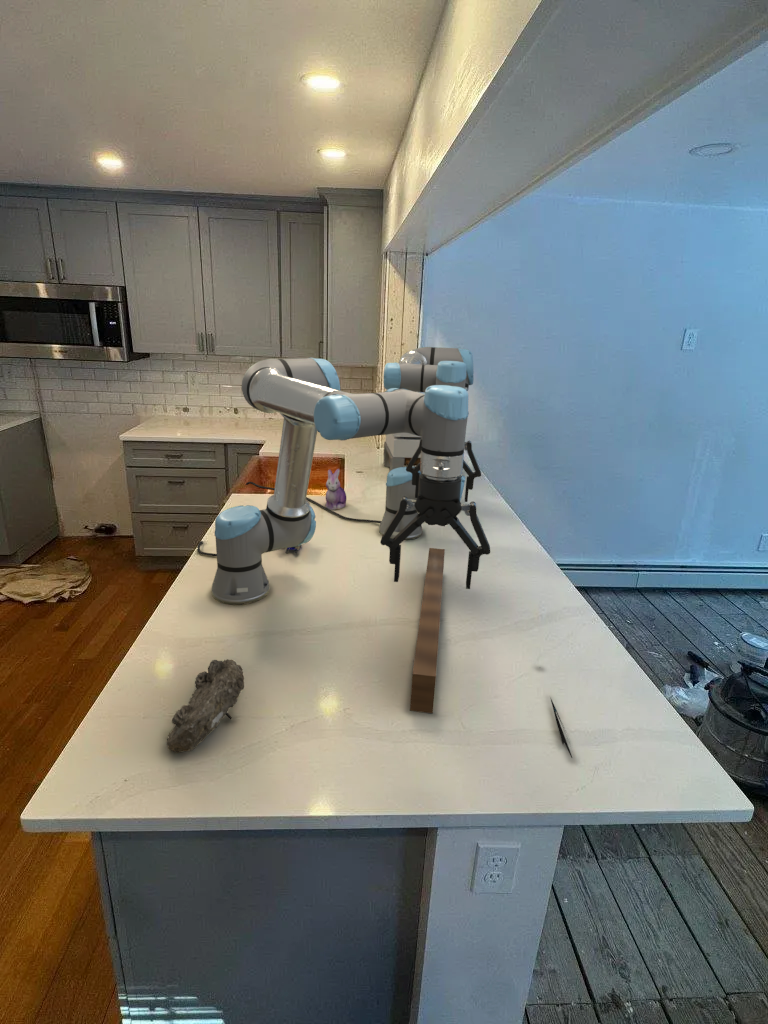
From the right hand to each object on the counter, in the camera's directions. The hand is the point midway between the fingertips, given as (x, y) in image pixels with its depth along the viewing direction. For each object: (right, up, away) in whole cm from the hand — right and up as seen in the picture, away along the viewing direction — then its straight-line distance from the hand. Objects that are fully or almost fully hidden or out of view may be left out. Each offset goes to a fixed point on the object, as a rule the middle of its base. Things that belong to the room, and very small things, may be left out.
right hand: (441, 498), depth 156 cm
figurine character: (-45, -15, +28) cm, 56 cm away
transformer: (+1, +15, +119) cm, 120 cm away
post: (-4, -33, -15) cm, 37 cm away
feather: (+18, -44, -42) cm, 63 cm away
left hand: (-7, -17, -48) cm, 52 cm away
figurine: (-35, -2, +68) cm, 76 cm away
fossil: (-49, -43, -48) cm, 81 cm away
